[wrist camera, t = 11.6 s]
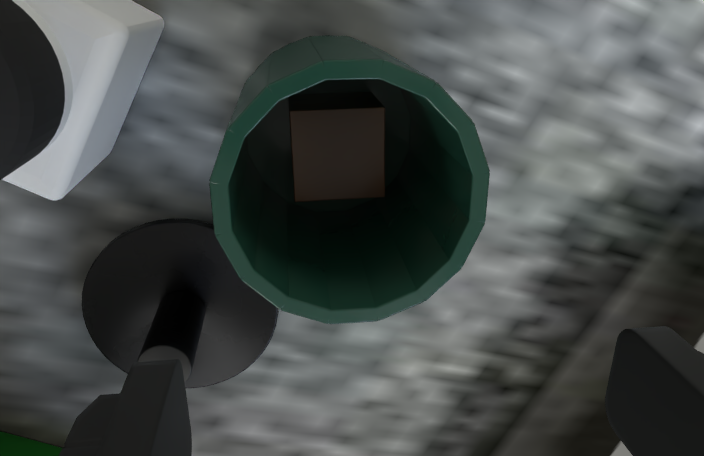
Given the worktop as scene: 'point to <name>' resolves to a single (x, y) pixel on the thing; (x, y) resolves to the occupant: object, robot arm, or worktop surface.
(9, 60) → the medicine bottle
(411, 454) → the worktop surface
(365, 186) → the block
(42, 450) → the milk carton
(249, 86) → the tin
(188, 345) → the lid
